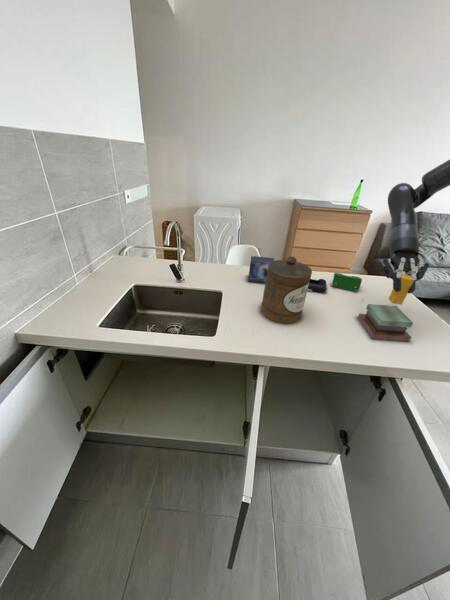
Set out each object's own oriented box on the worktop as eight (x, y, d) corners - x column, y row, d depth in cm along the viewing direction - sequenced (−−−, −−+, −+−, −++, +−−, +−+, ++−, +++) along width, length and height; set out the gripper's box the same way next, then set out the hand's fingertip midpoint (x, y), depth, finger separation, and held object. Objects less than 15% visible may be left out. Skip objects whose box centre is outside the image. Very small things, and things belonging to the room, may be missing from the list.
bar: (398, 300, 81) (409, 275, 76) (401, 304, 78) (414, 279, 73) (388, 298, 81) (399, 274, 76) (391, 303, 78) (403, 278, 74)
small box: (247, 282, 111) (250, 260, 106) (248, 276, 117) (250, 255, 111) (271, 284, 111) (274, 263, 105) (270, 278, 116) (274, 257, 111)
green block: (349, 294, 115) (363, 279, 111) (350, 297, 109) (365, 281, 106) (327, 280, 117) (340, 264, 113) (328, 282, 111) (341, 266, 107)
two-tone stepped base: (389, 320, 90) (397, 304, 87) (408, 341, 80) (418, 324, 77) (357, 317, 91) (363, 302, 87) (371, 338, 81) (379, 322, 77)
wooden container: (290, 329, 83) (304, 270, 71) (253, 312, 90) (261, 257, 79) (306, 310, 93) (321, 256, 82) (272, 297, 101) (281, 246, 89)
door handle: (285, 268, 121) (280, 279, 108) (327, 275, 116) (327, 288, 102) (284, 274, 123) (279, 286, 109) (325, 282, 117) (325, 295, 104)
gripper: (387, 233, 76) (386, 285, 73) (436, 238, 75) (438, 291, 71) (375, 244, 84) (374, 292, 80) (419, 248, 82) (420, 297, 78)
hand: (404, 291), depth 75 cm, fingers closed on bar, 3 cm apart
